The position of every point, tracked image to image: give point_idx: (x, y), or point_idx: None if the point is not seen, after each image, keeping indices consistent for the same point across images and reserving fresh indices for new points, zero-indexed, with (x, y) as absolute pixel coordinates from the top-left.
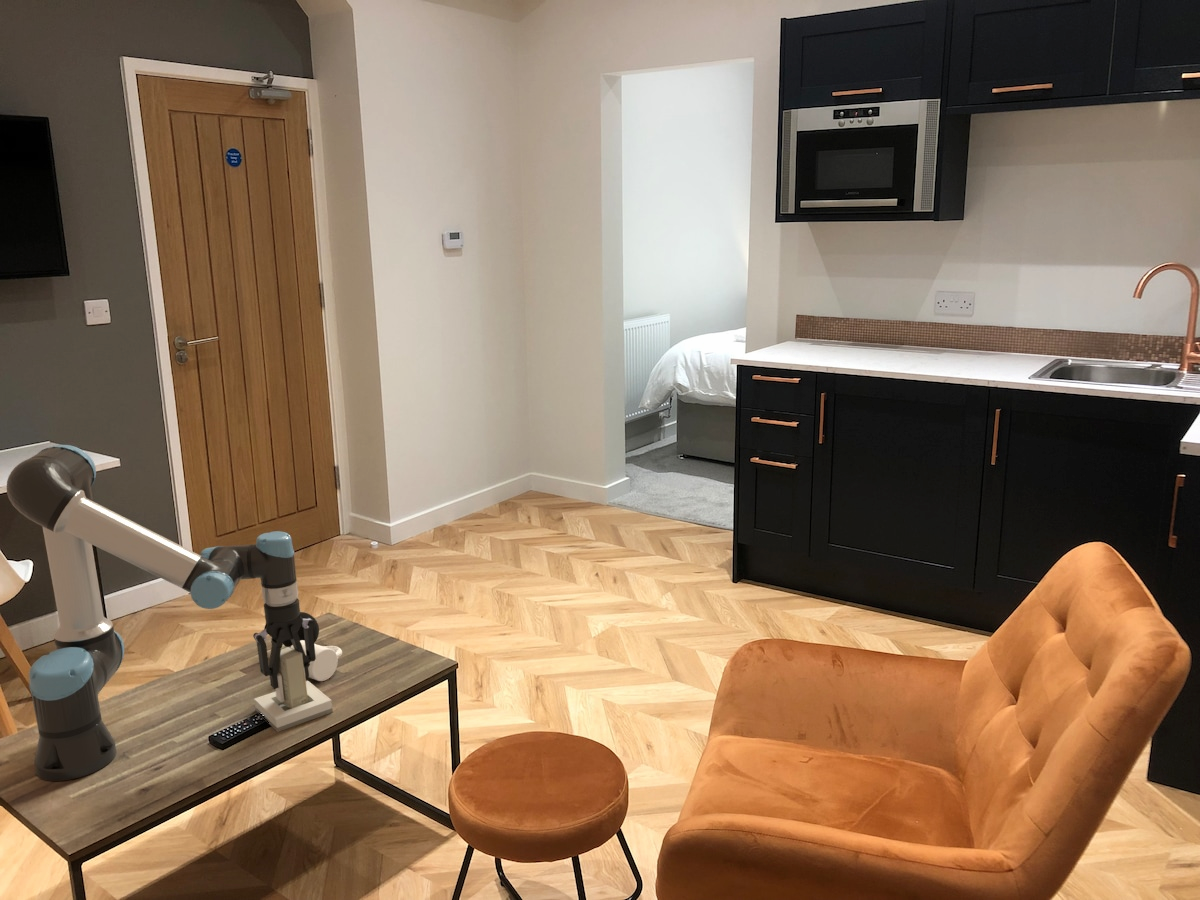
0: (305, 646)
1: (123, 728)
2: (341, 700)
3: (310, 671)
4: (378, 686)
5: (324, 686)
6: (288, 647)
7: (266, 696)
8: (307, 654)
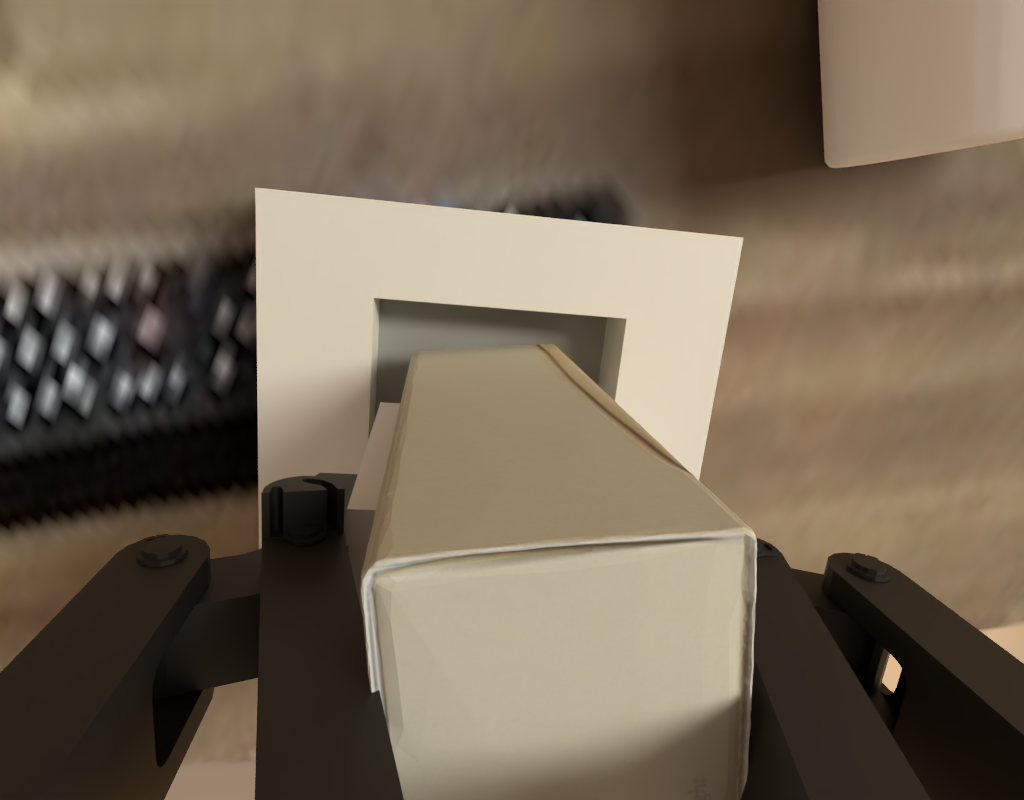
0: (950, 678)
1: None
2: (758, 501)
3: (845, 137)
4: (994, 502)
5: (815, 240)
6: (735, 556)
7: (359, 235)
8: (855, 610)
